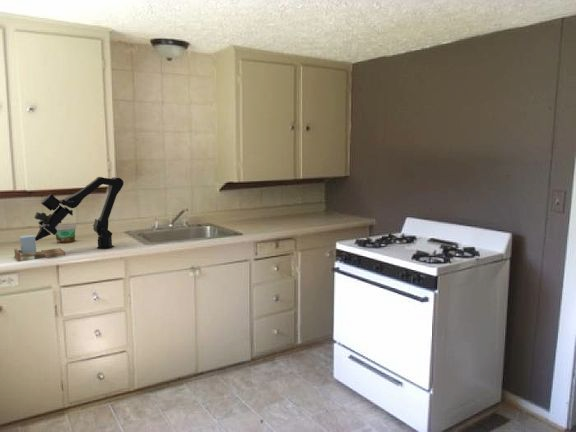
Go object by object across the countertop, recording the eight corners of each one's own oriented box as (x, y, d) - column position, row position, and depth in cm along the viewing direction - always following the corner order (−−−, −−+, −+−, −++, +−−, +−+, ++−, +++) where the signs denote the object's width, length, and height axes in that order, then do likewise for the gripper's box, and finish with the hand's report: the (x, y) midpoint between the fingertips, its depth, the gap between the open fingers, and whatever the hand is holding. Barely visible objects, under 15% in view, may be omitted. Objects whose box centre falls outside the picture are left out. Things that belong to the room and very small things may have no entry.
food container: (56, 244, 264) (54, 227, 262) (54, 243, 269) (52, 225, 267) (79, 242, 271) (78, 225, 269) (77, 240, 276) (76, 223, 274)
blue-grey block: (34, 252, 237) (33, 235, 236) (36, 254, 233) (34, 236, 232) (21, 254, 234) (19, 236, 232) (22, 255, 230) (21, 237, 228)
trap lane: (60, 251, 248) (59, 243, 247) (65, 255, 238) (64, 247, 238) (14, 256, 235) (14, 248, 235) (18, 261, 226) (17, 253, 225)
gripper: (41, 204, 243) (18, 227, 238) (48, 208, 228) (24, 233, 223) (58, 218, 248) (37, 241, 244) (66, 222, 234) (43, 247, 229)
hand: (35, 240), depth 235 cm, fingers closed
